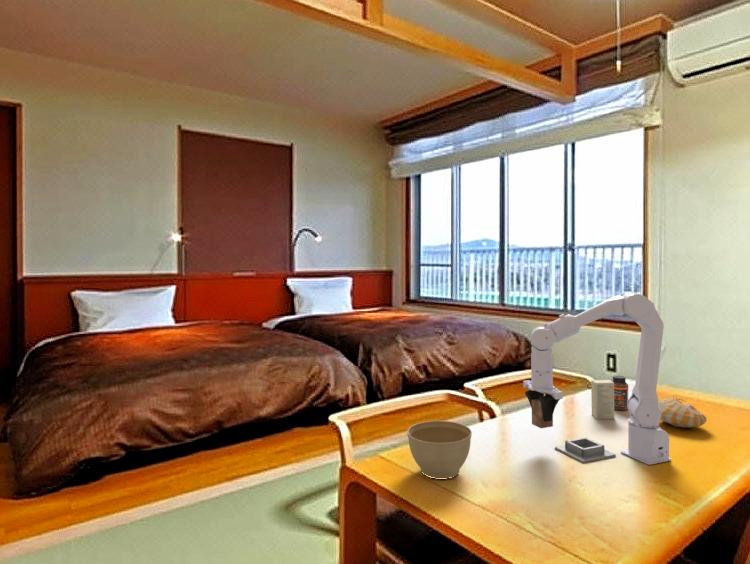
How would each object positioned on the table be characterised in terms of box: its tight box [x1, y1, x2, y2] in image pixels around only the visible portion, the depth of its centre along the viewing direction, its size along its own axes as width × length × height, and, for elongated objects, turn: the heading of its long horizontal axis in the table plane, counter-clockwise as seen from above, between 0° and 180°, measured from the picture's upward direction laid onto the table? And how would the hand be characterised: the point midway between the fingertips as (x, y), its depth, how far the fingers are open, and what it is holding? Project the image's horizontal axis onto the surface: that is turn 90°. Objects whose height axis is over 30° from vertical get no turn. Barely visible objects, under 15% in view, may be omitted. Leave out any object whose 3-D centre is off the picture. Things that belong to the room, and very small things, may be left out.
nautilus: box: [658, 397, 707, 429], centre depth 166 cm, size 8×22×15 cm
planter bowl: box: [406, 420, 472, 478], centre depth 133 cm, size 16×16×11 cm
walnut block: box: [531, 399, 554, 429], centre depth 146 cm, size 4×4×7 cm
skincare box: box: [590, 379, 615, 420], centre depth 174 cm, size 6×4×12 cm
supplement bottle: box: [611, 375, 629, 412], centre depth 182 cm, size 6×6×11 cm
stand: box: [554, 437, 617, 464], centre depth 144 cm, size 11×11×3 cm
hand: (542, 418), depth 146 cm, fingers closed on walnut block, 4 cm apart
